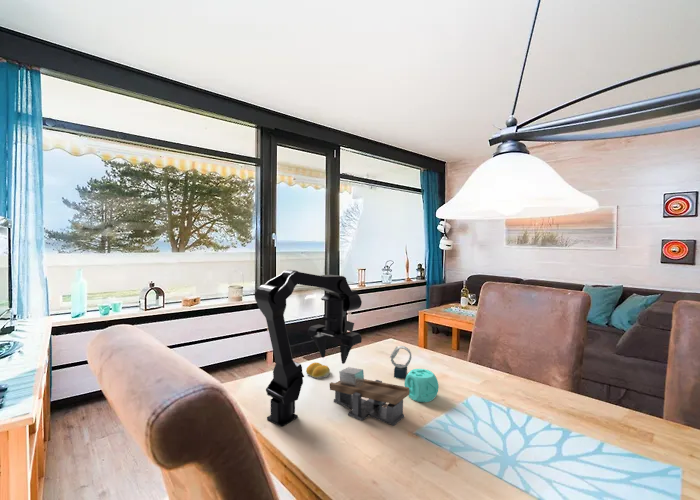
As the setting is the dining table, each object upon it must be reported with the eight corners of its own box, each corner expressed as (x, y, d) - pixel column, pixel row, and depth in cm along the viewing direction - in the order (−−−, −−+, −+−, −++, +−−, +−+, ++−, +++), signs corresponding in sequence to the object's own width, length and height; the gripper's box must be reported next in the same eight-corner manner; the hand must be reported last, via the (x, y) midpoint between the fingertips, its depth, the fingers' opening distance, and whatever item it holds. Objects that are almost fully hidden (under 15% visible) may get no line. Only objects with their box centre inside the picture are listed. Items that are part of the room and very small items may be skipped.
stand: (326, 406, 108) (326, 384, 108) (352, 391, 118) (352, 371, 118) (387, 431, 94) (387, 407, 94) (410, 412, 105) (410, 390, 105)
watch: (391, 371, 136) (391, 343, 136) (411, 373, 134) (412, 345, 134) (388, 376, 131) (389, 348, 130) (410, 379, 129) (411, 350, 128)
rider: (340, 385, 110) (339, 371, 110) (349, 380, 113) (348, 367, 114) (355, 388, 106) (354, 374, 106) (364, 383, 110) (363, 369, 110)
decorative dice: (438, 399, 113) (439, 375, 113) (419, 404, 110) (419, 380, 109) (422, 389, 121) (423, 366, 120) (404, 394, 117) (404, 370, 116)
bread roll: (319, 381, 127) (319, 370, 126) (302, 374, 132) (302, 364, 132) (334, 374, 133) (334, 363, 133) (317, 368, 139) (318, 358, 138)
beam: (329, 389, 110) (329, 383, 110) (345, 381, 117) (345, 375, 117) (395, 404, 96) (395, 397, 96) (409, 394, 102) (408, 387, 102)
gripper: (371, 313, 115) (370, 360, 115) (329, 306, 126) (327, 348, 127) (351, 319, 106) (350, 370, 107) (307, 310, 117) (306, 356, 118)
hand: (333, 360), depth 115 cm, fingers open, 8 cm apart
